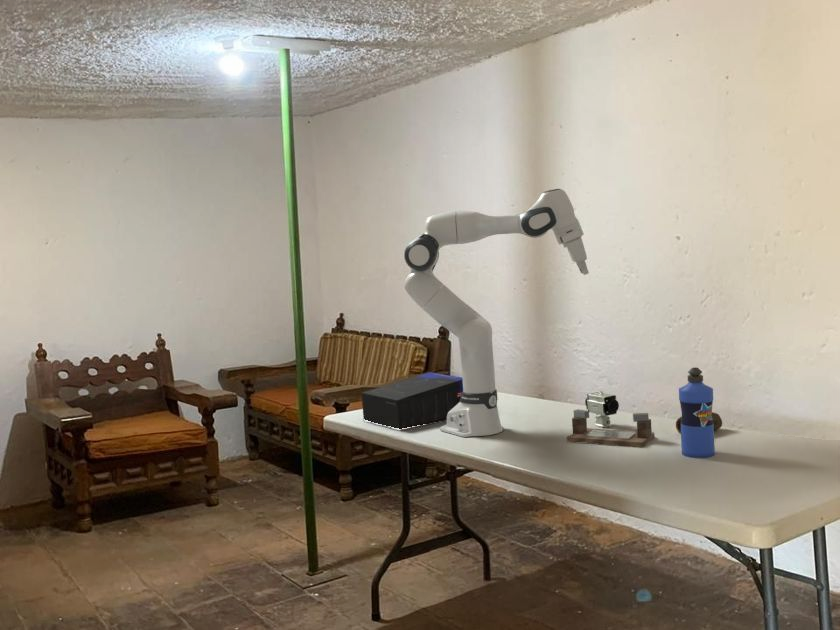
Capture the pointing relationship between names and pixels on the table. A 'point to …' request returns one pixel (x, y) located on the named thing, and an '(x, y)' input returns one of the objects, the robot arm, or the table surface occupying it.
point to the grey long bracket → (611, 434)
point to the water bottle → (696, 417)
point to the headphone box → (413, 400)
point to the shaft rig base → (638, 440)
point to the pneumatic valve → (602, 407)
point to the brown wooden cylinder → (716, 418)
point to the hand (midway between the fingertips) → (585, 273)
